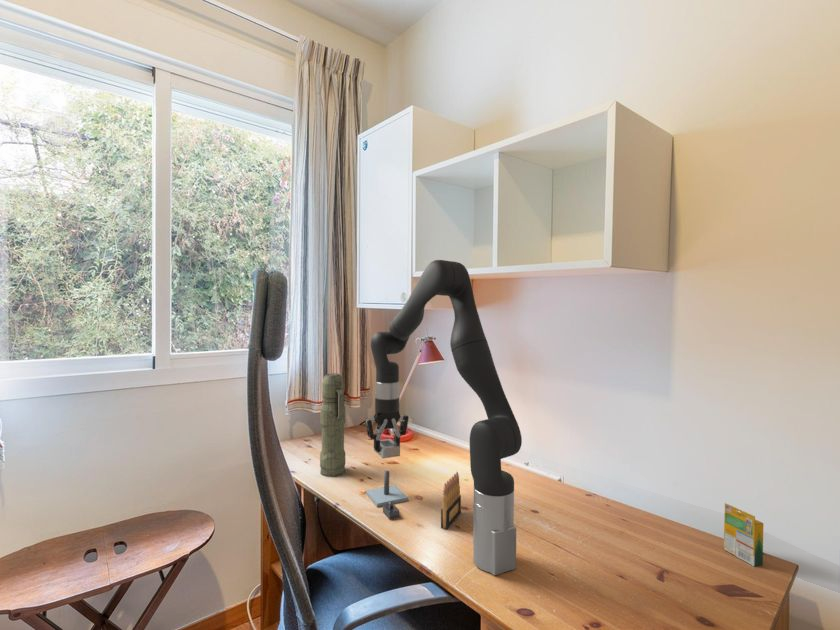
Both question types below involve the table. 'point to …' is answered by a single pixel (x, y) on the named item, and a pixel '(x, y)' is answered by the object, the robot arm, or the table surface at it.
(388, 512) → the anchor cleat
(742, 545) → the crayon box
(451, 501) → the ammunition clip
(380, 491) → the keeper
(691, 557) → the table surface
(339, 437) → the thermos
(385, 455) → the steel link
